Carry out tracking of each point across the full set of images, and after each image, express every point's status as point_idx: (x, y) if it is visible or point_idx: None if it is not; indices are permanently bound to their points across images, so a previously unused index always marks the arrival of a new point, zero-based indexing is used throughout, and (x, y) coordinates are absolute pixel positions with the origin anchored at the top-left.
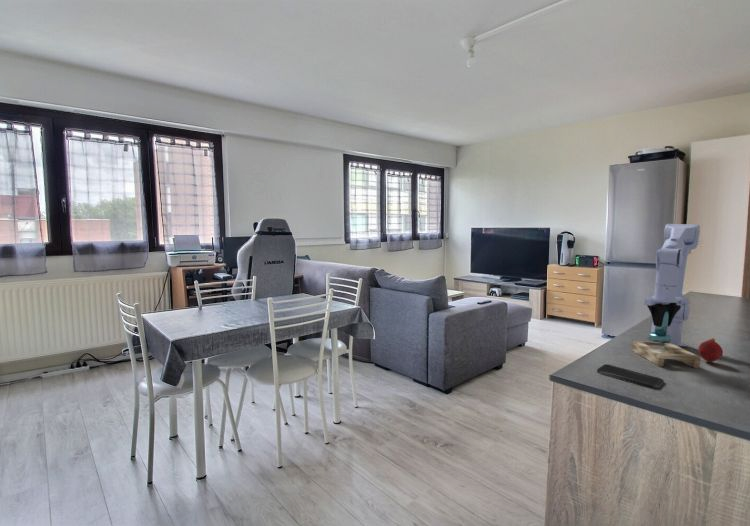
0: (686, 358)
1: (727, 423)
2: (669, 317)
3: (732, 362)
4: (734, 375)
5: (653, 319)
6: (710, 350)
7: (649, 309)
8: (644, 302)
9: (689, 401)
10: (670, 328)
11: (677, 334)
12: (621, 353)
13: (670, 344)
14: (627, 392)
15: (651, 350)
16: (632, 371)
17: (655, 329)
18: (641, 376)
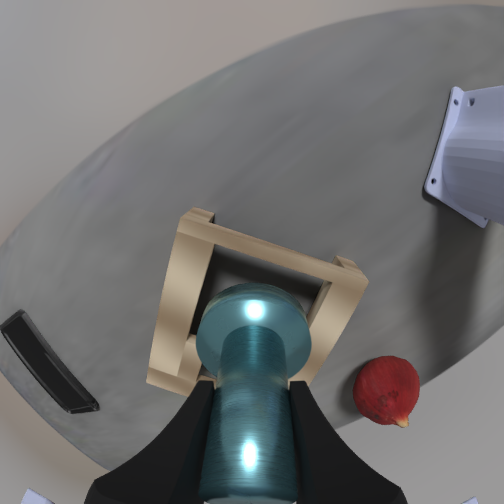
0: None
1: (106, 466)
2: (295, 461)
3: (433, 364)
4: None
5: (183, 412)
6: (360, 412)
7: (122, 465)
8: (23, 499)
9: (97, 441)
10: (497, 207)
11: (493, 220)
12: (120, 227)
13: (339, 307)
14: (26, 392)
15: (155, 347)
16: (56, 362)
17: (220, 362)
18: (63, 382)
